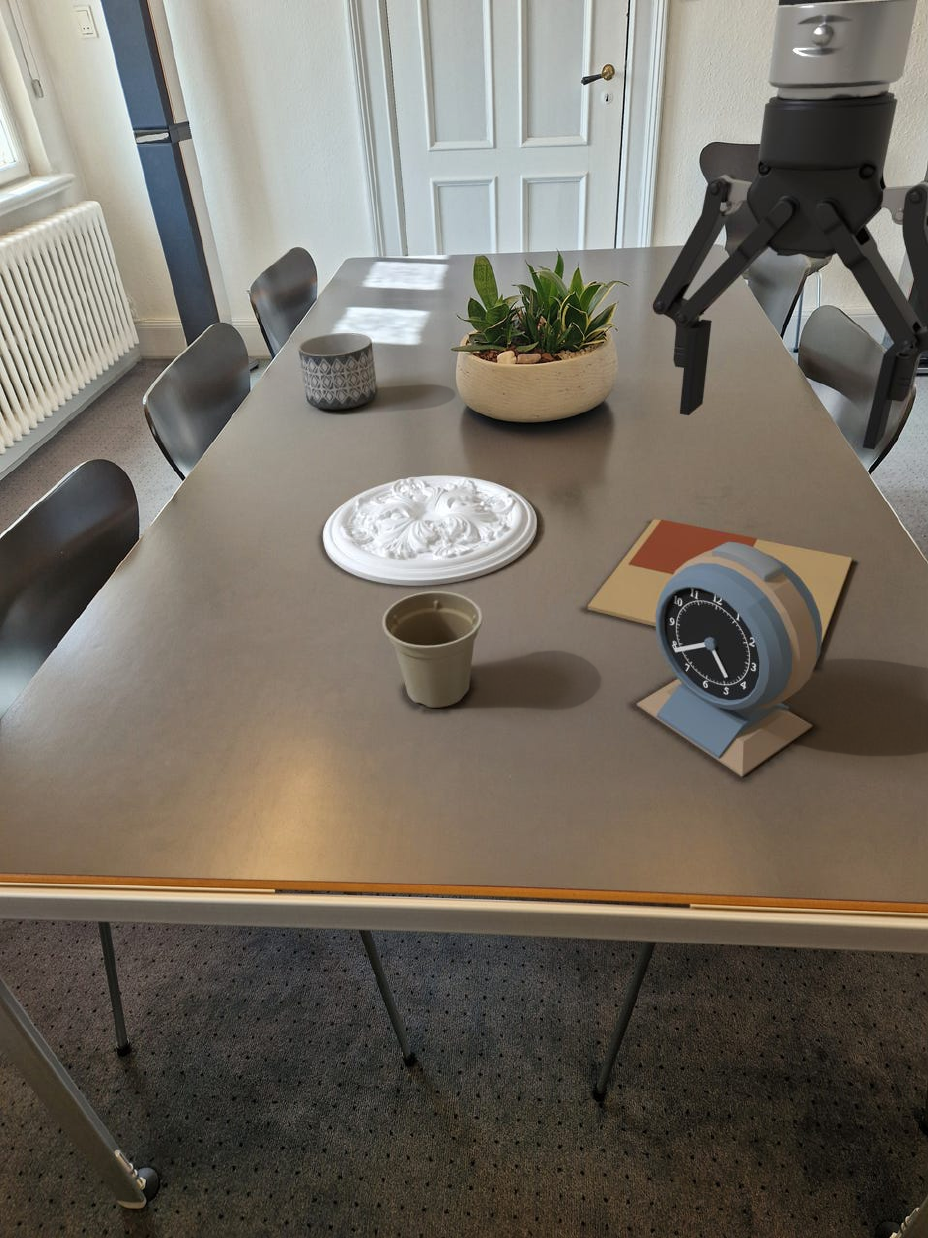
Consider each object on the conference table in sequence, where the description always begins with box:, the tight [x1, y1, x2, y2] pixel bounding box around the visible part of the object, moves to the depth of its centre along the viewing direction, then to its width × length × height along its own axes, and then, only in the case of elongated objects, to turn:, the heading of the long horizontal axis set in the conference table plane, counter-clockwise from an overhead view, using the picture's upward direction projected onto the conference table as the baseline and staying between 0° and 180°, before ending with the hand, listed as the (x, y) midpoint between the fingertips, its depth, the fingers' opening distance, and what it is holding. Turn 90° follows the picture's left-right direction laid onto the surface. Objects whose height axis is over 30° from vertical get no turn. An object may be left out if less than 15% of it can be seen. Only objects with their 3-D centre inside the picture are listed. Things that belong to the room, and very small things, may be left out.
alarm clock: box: [636, 542, 822, 778], centre depth 74 cm, size 14×10×18 cm
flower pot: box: [381, 590, 483, 709], centre depth 82 cm, size 9×9×9 cm
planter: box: [297, 332, 378, 411], centre depth 150 cm, size 13×13×10 cm
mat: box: [587, 518, 853, 646], centre depth 97 cm, size 24×22×1 cm
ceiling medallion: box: [322, 475, 538, 587], centre depth 111 cm, size 28×28×3 cm
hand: (777, 424), depth 63 cm, fingers open, 13 cm apart
